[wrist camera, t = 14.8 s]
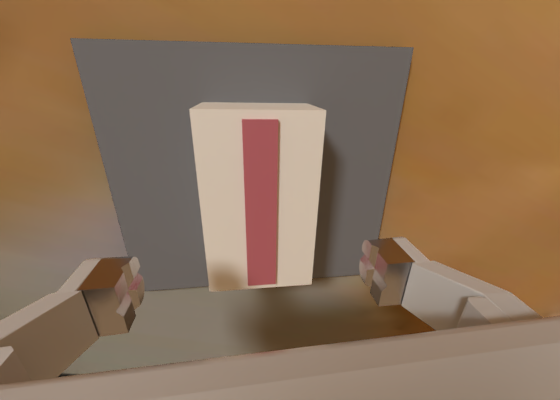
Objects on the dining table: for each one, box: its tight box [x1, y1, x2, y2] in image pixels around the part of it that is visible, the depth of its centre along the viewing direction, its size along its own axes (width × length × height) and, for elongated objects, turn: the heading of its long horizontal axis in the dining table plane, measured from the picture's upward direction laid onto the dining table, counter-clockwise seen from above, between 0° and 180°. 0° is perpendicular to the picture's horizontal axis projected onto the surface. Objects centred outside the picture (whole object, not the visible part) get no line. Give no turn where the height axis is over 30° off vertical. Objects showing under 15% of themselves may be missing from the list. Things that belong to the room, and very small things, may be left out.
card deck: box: [189, 102, 326, 292], centre depth 16 cm, size 10×6×4 cm, turn 179°
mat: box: [70, 38, 413, 291], centre depth 18 cm, size 18×16×1 cm
